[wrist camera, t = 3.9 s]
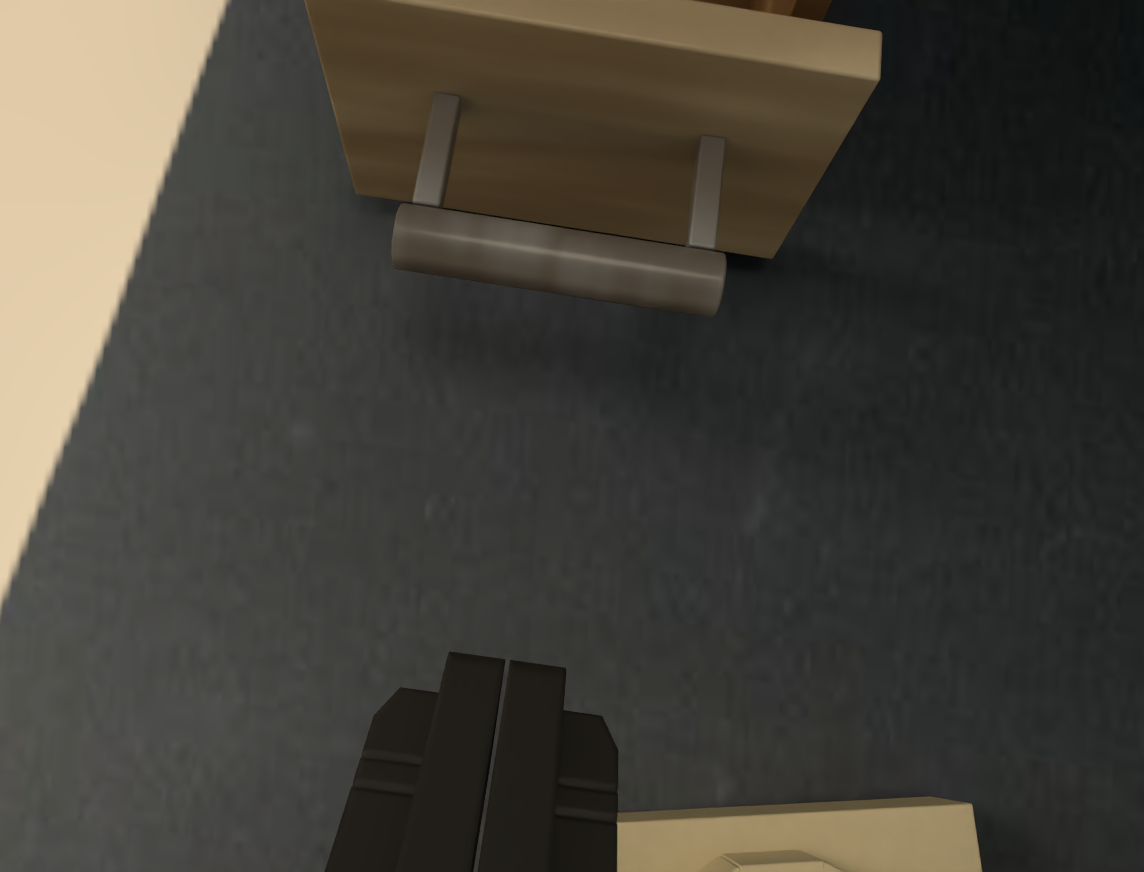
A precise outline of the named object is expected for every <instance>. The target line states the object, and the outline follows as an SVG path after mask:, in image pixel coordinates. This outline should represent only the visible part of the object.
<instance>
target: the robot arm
mask: <svg viewBox="0 0 1144 872" xmlns="http://www.w3.org/2000/svg"><path fill="white" fill-rule="evenodd" d="M504 665H505V659H498V658H491V657H484V656H478V655H471V654H464V653H457V652H449V654H448V657H447V661H446V665H445V669H444V673H443V677H442V681H441V686H440V690H439V693H436V692H429V691H422V690H415V689H408V688H401V687H400V688H399V689H398V690H397V691H396V692H395V694H394V695H393V696H392V697H391V698H390V699H389V700H388V701H387V702H386V703H385V704H384V705H383V706H382V707H381V708H380V710H379V711H378V712H377V713H376V714H375V715H374V717H373V720H372V723H371V726H370V730H369V733H368V736H367V739H366V742H365V745H364V749H363V753H362V758H360V761H359V764H358V768H357V771H356V774H355V777H354V781H353V786H352V787H351V790H350V793H349V796H348V799H347V803H346V806H345V809H344V812H343V815H342V818H341V822H340V825H339V828H338V831H337V834H336V838H335V841H334V844H333V847H332V850H331V853H330V857H329V860H328V863H327V866H326V869H325V872H473V869H474V863H475V857H476V850H477V844H478V838H479V832H480V825H481V819H482V813H483V807H484V800H485V794H486V788H487V781H488V775H489V768H490V762H491V755H492V748H493V741H494V734H495V728H496V721H497V714H498V707H499V700H500V693H501V686H502V679H503V672H504ZM565 681H566V668H563V667H556V666H549V665H542V664H535V663H528V662H521V661H514V660H510V666H509V672H508V678H507V685H506V691H505V698H504V704H503V711H502V717H501V724H500V730H499V737H498V743H497V750H496V756H495V762H494V769H493V775H492V782H491V788H490V795H489V801H488V808H487V814H486V821H485V827H484V834H483V840H482V846H481V853H480V859H479V866H478V872H617V829H618V824H617V817H618V794H617V789H618V749H617V746H616V744H615V742H614V740H613V738H612V736H611V734H610V732H609V730H608V728H607V725H606V723H605V721H604V719H603V717H602V716H599V715H592V714H585V713H578V712H571V711H564V710H563V706H564V694H565Z"/></svg>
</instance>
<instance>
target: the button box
mask: <svg viewBox="0 0 1144 872" xmlns="http://www.w3.org/2000/svg"><path fill="white" fill-rule="evenodd" d="M617 824H618V829H617V872H982V867H981V860H980V854H979V847H978V840H977V833H976V827H975V820H974V813H973V806H972V804H970V803H965V802H959V801H953V800H947V799H942V798H936V797H911V798H892V799H873V800H853V801H834V802H815V803H796V804H777V805H758V806H739V807H719V808H700V809H681V810H662V811H643V812H624V813H618V817H617Z"/></svg>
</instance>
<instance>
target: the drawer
mask: <svg viewBox="0 0 1144 872" xmlns="http://www.w3.org/2000/svg"><path fill="white" fill-rule="evenodd" d="M304 1H305V5H306V8H307V12H308V16H309V20H310V23H311V27H312V31H313V35H314V38H315V42H316V46H317V50H318V53H319V57H320V61H321V65H322V68H323V72H324V76H325V80H326V83H327V87H328V91H329V95H330V99H331V102H332V106H333V110H334V114H335V117H336V121H337V125H338V129H339V132H340V136H341V140H342V144H343V147H344V151H345V155H346V159H347V162H348V166H349V170H350V174H351V177H352V181H353V185H354V189H355V192H356V193H357V194H360V195H366V196H373V197H379V198H385V199H392V200H398V201H405V202H411V203H413V204H407V203H403V204H401V205H400V206H399V208H398V211H397V214H396V218H395V222H394V228H393V235H392V247H391V257H392V264H393V267H394V268H395V269H399V270H406V271H412V272H419V273H425V274H432V275H438V276H445V277H451V278H458V279H464V280H471V281H477V282H484V283H490V284H497V285H503V286H510V287H516V288H523V289H529V290H536V291H542V292H549V293H555V294H562V295H568V296H575V297H581V298H588V299H594V300H601V301H607V302H613V303H620V304H626V305H633V306H639V307H646V308H652V309H659V310H665V311H672V312H678V313H685V314H691V315H698V316H704V317H714V316H715V315H716V313H717V311H718V309H719V306H720V303H721V299H722V295H723V290H724V285H725V278H726V267H727V262H726V255H725V254H724V253H721V252H714V251H715V250H718V251H724V252H730V253H737V254H743V255H750V256H756V257H762V258H769V259H772V258H774V256H775V254H776V252H777V251H778V249H779V247H780V246H781V244H782V242H783V241H784V239H785V237H786V236H787V234H788V232H789V231H790V229H791V227H792V226H793V224H794V222H795V221H796V219H797V217H798V216H799V214H800V212H801V211H802V209H803V207H804V206H805V204H806V202H807V201H808V199H809V197H810V196H811V194H812V192H813V191H814V189H815V187H816V186H817V184H818V182H819V181H820V179H821V177H822V176H823V174H824V172H825V171H826V169H827V167H828V165H829V164H830V162H831V160H832V159H833V157H834V155H835V154H836V152H837V150H838V149H839V147H840V145H841V144H842V142H843V140H844V139H845V137H846V135H847V134H848V132H849V130H850V129H851V127H852V125H853V124H854V122H855V120H856V119H857V117H858V115H859V114H860V112H861V110H862V109H863V107H864V105H865V104H866V102H867V100H868V99H869V97H870V95H871V94H872V92H873V90H874V89H875V87H876V85H877V83H878V82H879V80H880V74H881V53H882V32H880V31H876V30H870V29H864V28H858V27H852V26H846V25H840V24H834V23H828V22H822V21H823V19H824V17H825V14H826V12H827V10H828V8H829V6H830V4H831V2H832V0H304ZM443 208H449V209H456V210H462V211H468V212H475V213H481V214H488V215H494V216H500V217H507V218H513V219H520V220H526V221H532V222H539V223H545V224H551V225H558V226H564V227H571V228H577V229H583V230H590V231H596V232H603V233H609V234H615V235H622V236H628V237H635V238H641V239H647V240H654V241H660V242H667V243H673V244H679V245H685V247H682V246H676V245H669V244H663V243H657V242H650V241H644V240H637V239H631V238H625V237H618V236H612V235H605V234H599V233H593V232H586V231H580V230H573V229H567V228H561V227H554V226H548V225H542V224H535V223H529V222H522V221H516V220H510V219H503V218H497V217H490V216H484V215H478V214H471V213H465V212H458V211H452V210H446V209H443Z"/></svg>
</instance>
